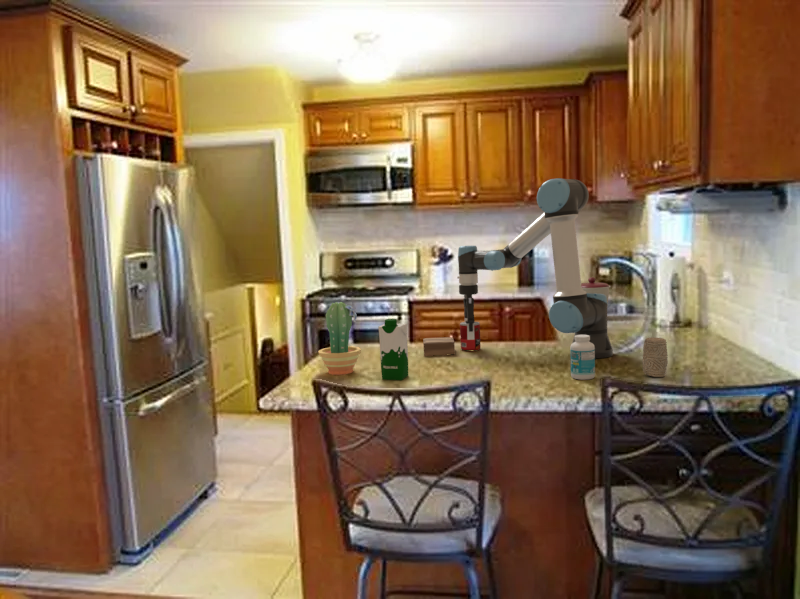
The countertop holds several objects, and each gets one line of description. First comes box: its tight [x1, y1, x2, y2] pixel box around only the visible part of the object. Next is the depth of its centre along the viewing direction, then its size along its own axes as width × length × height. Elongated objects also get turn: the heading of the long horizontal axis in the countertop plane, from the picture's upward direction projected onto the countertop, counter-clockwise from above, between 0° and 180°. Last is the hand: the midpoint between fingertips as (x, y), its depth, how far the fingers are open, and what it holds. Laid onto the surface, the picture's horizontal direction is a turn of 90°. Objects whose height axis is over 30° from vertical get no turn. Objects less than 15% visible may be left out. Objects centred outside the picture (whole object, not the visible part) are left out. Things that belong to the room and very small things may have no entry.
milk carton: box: [378, 318, 409, 381], centre depth 222 cm, size 9×9×20 cm
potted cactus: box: [318, 301, 362, 376], centre depth 236 cm, size 15×16×25 cm
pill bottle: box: [569, 334, 596, 381], centre depth 210 cm, size 8×7×14 cm
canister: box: [581, 276, 611, 308], centre depth 339 cm, size 18×18×21 cm
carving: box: [642, 337, 669, 378], centre depth 207 cm, size 6×8×12 cm
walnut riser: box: [422, 336, 456, 357], centre depth 264 cm, size 12×12×5 cm
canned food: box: [459, 321, 481, 351], centre depth 268 cm, size 8×8×11 cm
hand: (469, 336), depth 268 cm, fingers open, 13 cm apart
